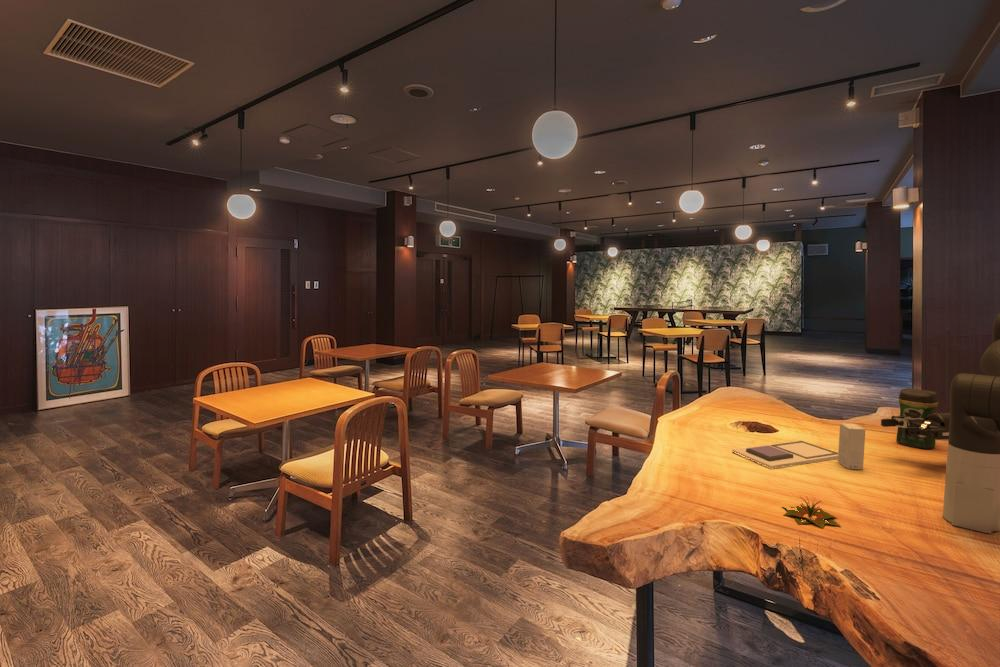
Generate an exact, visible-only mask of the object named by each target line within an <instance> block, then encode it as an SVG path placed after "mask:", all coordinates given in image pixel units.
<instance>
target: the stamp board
mask: <svg viewBox="0 0 1000 667" xmlns="http://www.w3.org/2000/svg"><path fill="white" fill-rule="evenodd" d="M732 451H734V452H736V453H739V454H741V455H743V456H745V457H747V458H750V459H752V460H754V461H756V462H759V463H761V464H763V465H766V466H768V467H770V468H775V467H782V466H789V467H791V466H790V465H796V466H798V465H797V464H802V465H807V464H806V463H808V464H814V463H813V462H815V463H820V462H827V461H833V460H838V451H837V452H836V451H834V450H830V449H827V448H824V447H821V446H818V445H815V444H812V443H809V442H806V441H803V440H794V441H787V442H778V443H772V444H763V445H756V446H750V447H742V448H736V449H732V450H731V452H732Z"/></svg>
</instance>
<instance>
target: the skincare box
mask: <svg viewBox="0 0 1000 667" xmlns="http://www.w3.org/2000/svg"><path fill="white" fill-rule="evenodd" d="M838 436H839V438H838V449H837V450H838V451H837V453H838V459H837V462H838V463H839V464H840V465H842V466H843V467H845V468H846V470H847V469H848V470H864V459H865V458H864V456H865V443H866V440H865V439H866V429H865V428H864V427H863V426H860V425H858V424H856V423H844V422H842V423H841V422H840V423H839V435H838Z"/></svg>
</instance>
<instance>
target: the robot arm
mask: <svg viewBox="0 0 1000 667" xmlns="http://www.w3.org/2000/svg"><path fill="white" fill-rule="evenodd" d="M991 336H992V339H991V340H992V343H991V344H990V345H989V346H988V347H987V348H986V349H985V351H984V353H983V354H982V355H981V357H980V361H979V362H980V363H979V366H980V369H981V371H982V372H983V374H976V373H965V372H963V373H962V372H961V373H957V374H956V375H955V376H954V377H953V379H952V381H951V383H950V388H949V412H942V413H936V412H935V413H933V414H930V415H928V416H927V417H926V418H925V419H922V418H916V419H915V418H914V417H913V416H900V415H892V416H891V418H882V419H880V426H881V427H883V428H888V427H890V428H891V427H893V428H894V427H895V428H898V427H902V428H903V435H905V436H918V435H919V436H920V437H924V436H925V437H926V438H928V439H935V441H937V440H938V441H944V440H945V441H948V443H947V454H946V467H945V478H944V494H943V507H942V508H943V509H942V517H943V518H944V520H945V521H947V522H949V523H951V525H952V526H955V527H959V528H964V529H968V530H972V531H977V532H979V533H984V534H988V533H989V534H992V533H994V532H993V531H996V532H998V530H999V529H1000V312H999V313H998V314H996V317H995V319H994V321H993V326H992V334H991ZM907 425H910V427H907ZM999 531H1000V530H999ZM989 534H988V535H989Z"/></svg>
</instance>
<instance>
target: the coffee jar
mask: <svg viewBox="0 0 1000 667" xmlns="http://www.w3.org/2000/svg"><path fill="white" fill-rule="evenodd" d="M897 401H898V404H899V406H900V409H899V410H900V411H899V416H913V417H914V418H915V419H916V418H922V419H925V418H926V417H927V416H928V415H930V414H933V413H936V412H935V411H936V409H937V407H938V405H939V399H938V394H937V391H931V390H925V389H919V388H912V387H910V388H909V387H908V388H907V387H906V388H903V389H902V388H901V389H900V392H899V395H898V400H897ZM907 427H910V425H907ZM895 437H896V438H895V440H896V442H897V443H899V444H901V445H903V446H907V447H912V448H917V449H933V448H934V447H936V439H928V438H926V437H925V436H924V437H920V436H919V435H918V436H905V435H903V428H902V427H897V430H896V436H895Z"/></svg>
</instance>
